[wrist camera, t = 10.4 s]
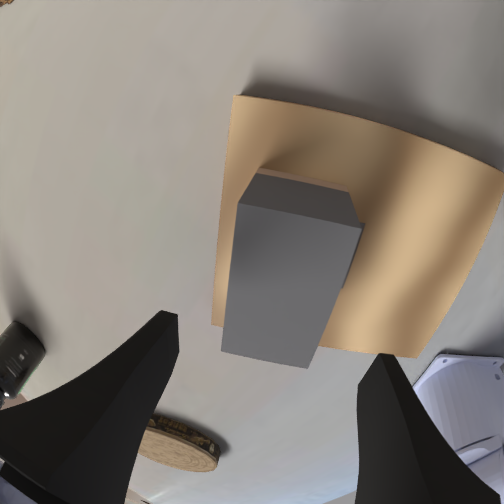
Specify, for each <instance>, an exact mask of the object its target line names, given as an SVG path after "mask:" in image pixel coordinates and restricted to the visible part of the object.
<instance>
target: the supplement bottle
mask: <svg viewBox="0 0 504 504" xmlns="http://www.w3.org/2000/svg"><path fill="white" fill-rule="evenodd" d="M44 356H45V351H44V348H43V346H42V344H41V343H40V341H39V340H38V338H37V337H36V336H35V335H34V334H33V333H32V332H31V331H30V330H29V329H28V328H27V327H25V326H24V325H22V324H21V323H18V322H13V323H11V324H10V325H9V326H8V327H7V328H6V330H5V331H4V332H3V333H2V334H1V335H0V409H1V407H2V405H4V403H5V402H4V400H5V398H6V399H15V398H16V397H17V396H18V395H19V393H20V392H21V390H22V389H23V387H24V386H25V384H26V383H27V382H28V380H29V379H30V377H31V376H32V374H33V373H34V371H35V370H36V369H37V367H38V366H39V364H40V363H41V361H42V360H43V358H44Z"/></svg>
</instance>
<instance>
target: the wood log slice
mask: <svg viewBox="0 0 504 504" xmlns="http://www.w3.org/2000/svg"><path fill="white" fill-rule="evenodd" d="M138 453H139V454H141V455H143V456H145V457H147V458H149V459H151V460H154V461H156V462H158V463H161V464H164V465H167V466H170V467H173V468H177V469H181V470H186V471H193V472H209V471H213V470H214V469H215V468H216V467H217V464H218V460H219V457H220V453H221V451H220V448H219V446H218V445H217V444H216V443H215V442H214V441H213V440H212V439H211V438H209V437H208V436H206V435H205V434H203V433H201V432H200V431H198V430H196V429H194V428H191V427H189V426H187V425H185V424H183V423H181V422H178V421H175V420H172V419H169V418H167V417H164V416H160V415H156V414H152V416H151V418H150V420H149V423H148V425H147V427H146V430H145V432H144V435H143V438H142V441H141V444H140V447H139V450H138Z"/></svg>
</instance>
